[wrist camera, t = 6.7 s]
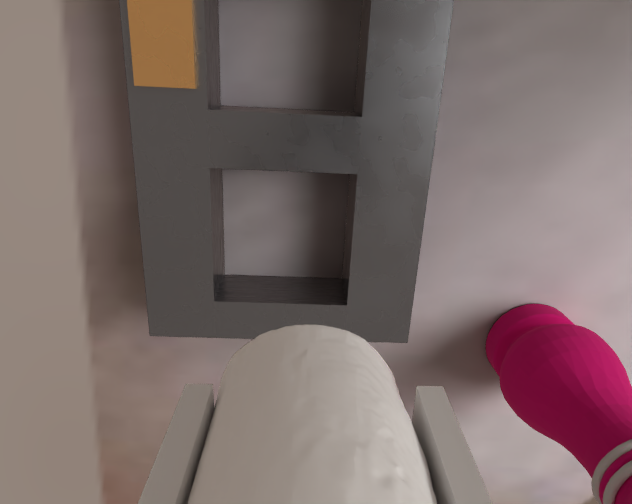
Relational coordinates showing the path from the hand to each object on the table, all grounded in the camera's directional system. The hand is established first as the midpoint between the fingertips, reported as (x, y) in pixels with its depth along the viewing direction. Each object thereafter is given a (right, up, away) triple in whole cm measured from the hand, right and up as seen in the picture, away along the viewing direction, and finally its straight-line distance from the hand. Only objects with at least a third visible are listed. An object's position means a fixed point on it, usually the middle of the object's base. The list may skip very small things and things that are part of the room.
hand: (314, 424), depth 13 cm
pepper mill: (+16, -1, +21) cm, 26 cm away
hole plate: (-2, +12, +15) cm, 19 cm away
